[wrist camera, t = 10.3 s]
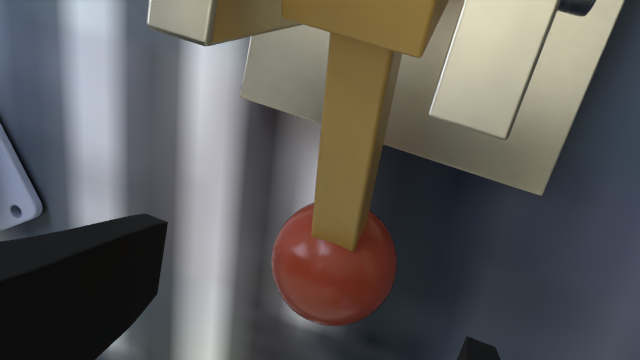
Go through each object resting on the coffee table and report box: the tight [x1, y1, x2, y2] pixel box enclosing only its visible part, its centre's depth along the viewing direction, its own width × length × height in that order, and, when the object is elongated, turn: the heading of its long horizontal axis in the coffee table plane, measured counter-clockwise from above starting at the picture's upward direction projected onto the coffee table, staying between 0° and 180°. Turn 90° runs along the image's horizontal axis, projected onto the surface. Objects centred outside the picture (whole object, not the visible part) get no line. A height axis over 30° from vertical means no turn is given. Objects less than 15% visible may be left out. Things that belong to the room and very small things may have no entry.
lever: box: [272, 0, 449, 326], centre depth 12 cm, size 12×3×3 cm, turn 166°
